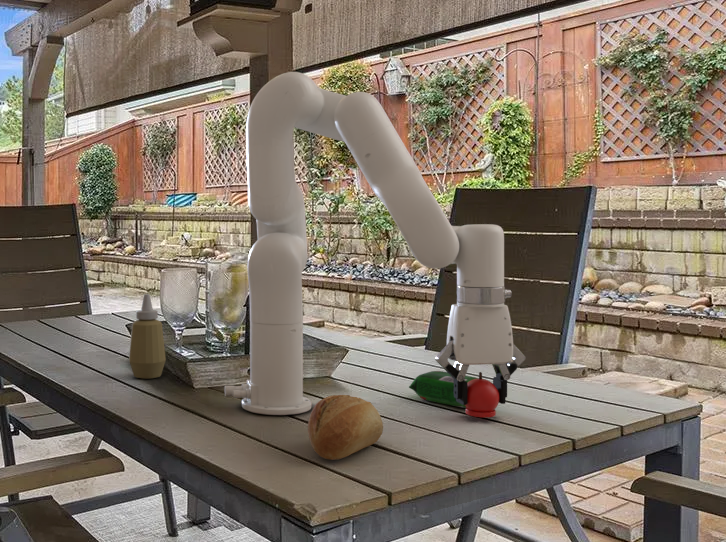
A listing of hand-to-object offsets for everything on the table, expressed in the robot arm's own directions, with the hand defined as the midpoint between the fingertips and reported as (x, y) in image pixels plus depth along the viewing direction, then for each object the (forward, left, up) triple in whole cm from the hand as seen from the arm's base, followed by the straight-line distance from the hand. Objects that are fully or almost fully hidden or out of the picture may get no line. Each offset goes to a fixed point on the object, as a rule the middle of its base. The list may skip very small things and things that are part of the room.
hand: (480, 401), depth 128 cm
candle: (0, 0, -2) cm, 2 cm away
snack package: (0, +11, -3) cm, 11 cm away
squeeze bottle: (-56, +41, -3) cm, 70 cm away
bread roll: (-28, -16, -3) cm, 32 cm away
